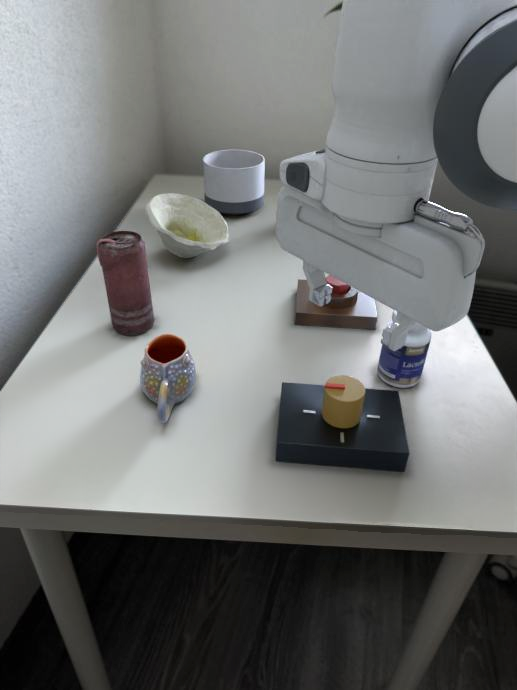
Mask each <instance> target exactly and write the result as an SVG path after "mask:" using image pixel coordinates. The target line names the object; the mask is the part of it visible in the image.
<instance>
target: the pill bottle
mask: <svg viewBox="0 0 517 690" xmlns="http://www.w3.org/2000/svg"><path fill="white" fill-rule="evenodd" d="M392 310H393V309H392ZM396 316H397V311H395V310H393V311H392V315H391V320H390V321H389V322H388V323H387V324H386V326H385V328H387V327H391V325H392V324H394V323H397V324H399V325H400V324H401V322H399V321H397V320H396ZM432 336H433V335H432V330H430V329H428V328H426V327H425V326H423V325H421V324H419V323H418V324H416V325H415V326H414V327H413V328H412V329H410V330H409V331H408V333H407V337H406V341H405V344H404V345H403V347H401V348H400V349H398V350H396V351H393V350H391V349H389V348H388V347H386V346H385V345H383V344H381V348H380V353H379V357H378V362H377V370H376V371H377V374H378V376H379V379H381V380H382V381H383V382H384V383H386V384H388V385H389V386H392V387H396V388H402V389H403V388H405V389H406V388H411V387H414V386H415V385H417V384H418V383H419V382H420V381H421V379H422V375H423V370H424V367H425V364H426V359H427V356H428V352H429V349H430V344H431V340H432Z"/></svg>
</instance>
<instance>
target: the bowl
mask: <svg viewBox="0 0 517 690" xmlns="http://www.w3.org/2000/svg"><path fill="white" fill-rule="evenodd" d="M144 210H145V213H146V215H147V217H148V220H149V223H150V224H151V225H152V226H153V227H154V229H155V230H156V233H157V236H158V237H159V238H160V240H161V242H162V244H163V246H164V247H165V248H166V250H168V251H169V252H170V253H171V254H172V255H174V256H177V257H180V258H183V259H184V258H186V259H189V258H195V257H197V256H199V255H201V254H204V253H206V252H210V251H214V250H216V248H218V247H219V246H222V245H224V244H228V243H229V240H230V237H229V236H230V231H229V228H228V223H227V221H226V220H225V219H224V217H223V216H222V213H221V212H218V211H217V210H215V209H214V208H212V207H211V206H209V205H208V204H206V203H205V201H204V200H201V199H199V198H196V197H193V196H189V195H185V194H181V193H173V192H170V193H161V194H157V195H155V196H153V197H151V198H150V200H149V201H147V203H146V204H145V209H144Z"/></svg>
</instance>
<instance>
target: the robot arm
mask: <svg viewBox="0 0 517 690" xmlns="http://www.w3.org/2000/svg"><path fill="white" fill-rule="evenodd" d="M339 14H340V15H339V21H338V27H337V33H336V40H335V46H334V47H335V48H334V56H333V65H332V74H331V89H332V96H333V114H332V115H333V116H332V121H331V123H330V127H329V128H328V131H327V134H326V138H325V145H324V149H323V148H322V149H320V150H314V151H310V152H306V153H303V154H299V155H295V156H292V157H289V158H287V159H283V160H282V161H281V162H280V164H279V170H278V171H279V172H278V173H279V180H280V182H281V183H282V184H283V185H282V187H281V188H280V190H279V192H278V195H277V200H276V201H277V202H276V213H275V237H276V239H277V242H278V245H279V247H280V249H281V250H283V251H284V252H286V253H288V254H290V255H292V256H294V257H296V258H298V260H301V261H302V271H303V273H304V276H305V280H307V282H308V285H309V287H310V293H309V300H310V301H311V302H313V303H315V304H316V305H318V306H320V307H322V306H323V305H324V304H328V303H329V302H330V300H331V295H330V294H331V293H332V287H331V286H329V285H327V282H326V274H327V275H331V276H333V277H334V278H336V279H338V280H340V281H342V282H344V283H345V284H347V285H349V286H351V287H353V288H355V289H356V290H358V291H360V292H362V293H364V294H366V295H368V296H369V297H371V298H373V299H375V301H377V302H379V303H381V304H382V305H384V306H386V307H387V308H389V309H392V310H395V311H397V316H396V320H397V321H399V322H401V324H400V325H399V324H397V323H394V324H392V325H391V327H387V328H386V327H385V328H383V329H382V332H381V337H382V338H381V339H380V344H381V345H382V344H383V345H385V346H386V347H388V348H389V349H391V350H393V351H396V350H398V349H400V348H401V347H403V345H404V344H405V341H406V337H407V333H408V331H409V330H410V329H412V328H413V327H414V326H415V325H416V324H418V323H419V324H421V325H423V326H425V327H426V328H428V329H430V330H431V332H432V331H433V332H440V331H443V330H446V329H448V328H450V327H451V326H453V325H455V324H457V323H459V322H460V321H461V320H463V319H464V318H465V317H466V316H467V315H468V314H469V311H470V308H471V303H472V299H473V294H474V289H475V283H476V274H477V270H478V268H479V267H480V264H481V261H482V258H483V254H484V251H485V247H486V241H485V238H484V237H483V234H482V232H481V231H480V230H479V228H478V227H477V226H476V225H475V224H474V220H473V219H472V218H471V217H469V216H468V215H466V214H463V213H460V212H454V211H451V210H448V209H446V208H444V207H443V206H441V205H438V204H436V203H433V202H431V201H430V198H431V193H432V188H433V184H434V179H435V174H436V171H437V166H438V163H439V166H440V168H441V169H442V171H443V173H444V174H445V176H446V177H447V179H448V180H449V181H450V183H451V184H452V185H453V186H454V187H455V188H456V189H457V190H458V191H460V192H461V193H462V194H464V195H465V196H466V197H468V198H470V199H471V200H473V201H475V202H477V203H479V204H481V205H484V206H487V207H491V208H495V209H500V210H506V211H517V0H342V4H341V10H340V13H339Z"/></svg>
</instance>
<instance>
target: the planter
mask: <svg viewBox="0 0 517 690" xmlns="http://www.w3.org/2000/svg"><path fill="white" fill-rule="evenodd" d="M265 166H266V158H265V157H264V155H262V154H261V153H258V152H256V151H252V150H244V149H221V150H215V151H211V152H209V153H207V154H205V155H203V157H202V171H203V194H204V195H203V196H204V202H205V203H206V204H208V205H209V206H211V207H212V208H214V209H215V210H217V211H218V212H219V213H220V214H224V215H231V216H232V215H234V216H237V215H244V214H248V213H252V212H253V211H257V210H258V209H260V208H262V206H263V205H264V203H265V175H266V173H265V172H266V171H265V170H266V168H265Z"/></svg>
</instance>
